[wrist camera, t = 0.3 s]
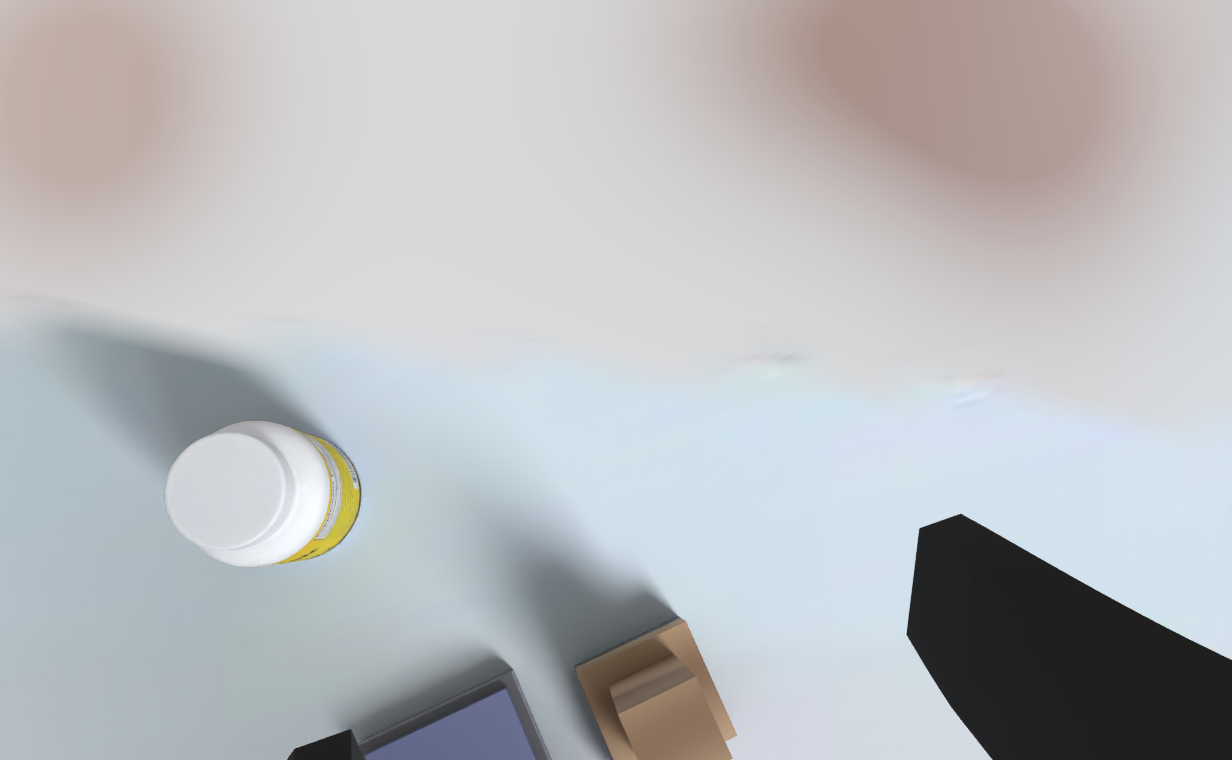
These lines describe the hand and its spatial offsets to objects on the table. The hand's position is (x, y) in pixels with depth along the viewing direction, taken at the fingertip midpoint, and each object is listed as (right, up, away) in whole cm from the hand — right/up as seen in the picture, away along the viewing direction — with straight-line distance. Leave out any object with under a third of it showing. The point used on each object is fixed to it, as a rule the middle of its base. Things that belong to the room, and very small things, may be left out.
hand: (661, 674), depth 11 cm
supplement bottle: (-14, -2, +29) cm, 33 cm away
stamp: (+1, -10, +29) cm, 30 cm away
